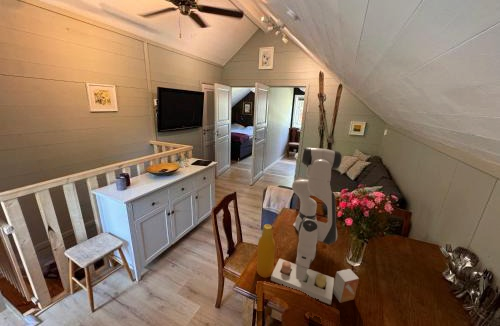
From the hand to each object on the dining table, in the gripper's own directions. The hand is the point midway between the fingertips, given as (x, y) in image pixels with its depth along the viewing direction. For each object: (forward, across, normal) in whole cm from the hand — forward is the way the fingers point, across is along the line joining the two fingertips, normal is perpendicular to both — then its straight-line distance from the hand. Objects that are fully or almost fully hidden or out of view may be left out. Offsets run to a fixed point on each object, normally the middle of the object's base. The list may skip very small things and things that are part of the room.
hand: (303, 273), depth 109 cm
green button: (+5, 0, 0) cm, 5 cm away
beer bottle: (+5, +3, -20) cm, 21 cm away
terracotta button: (+3, 0, -9) cm, 9 cm away
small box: (+5, -1, +20) cm, 21 cm away
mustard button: (+3, 0, +9) cm, 9 cm away
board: (+5, 0, 0) cm, 5 cm away
